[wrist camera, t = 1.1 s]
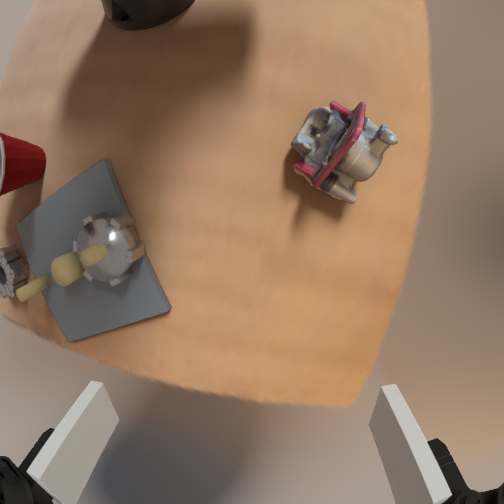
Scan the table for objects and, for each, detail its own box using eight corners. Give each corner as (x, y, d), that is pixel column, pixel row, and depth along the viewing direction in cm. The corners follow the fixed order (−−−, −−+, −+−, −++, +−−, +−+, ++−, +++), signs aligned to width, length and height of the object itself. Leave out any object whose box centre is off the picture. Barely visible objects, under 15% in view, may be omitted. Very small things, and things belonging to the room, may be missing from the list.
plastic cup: (18, 202, 35) (-32, 213, 23) (17, 142, 32) (-33, 140, 20) (58, 193, 34) (2, 201, 22) (57, 124, 32) (3, 115, 20)
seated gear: (81, 225, 34) (65, 231, 30) (127, 200, 33) (111, 202, 29) (107, 283, 36) (92, 294, 32) (154, 264, 34) (142, 273, 31)
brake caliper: (305, 77, 27) (392, 87, 19) (352, 126, 35) (426, 149, 26) (257, 157, 30) (335, 192, 22) (314, 193, 37) (383, 232, 29)
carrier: (21, 224, 36) (-13, 233, 27) (109, 159, 33) (72, 156, 25) (72, 338, 40) (46, 363, 32) (171, 306, 37) (150, 337, 29)
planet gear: (-3, 254, 37) (-17, 259, 33) (17, 236, 36) (2, 241, 32) (14, 297, 39) (1, 305, 35) (36, 284, 38) (22, 292, 34)
